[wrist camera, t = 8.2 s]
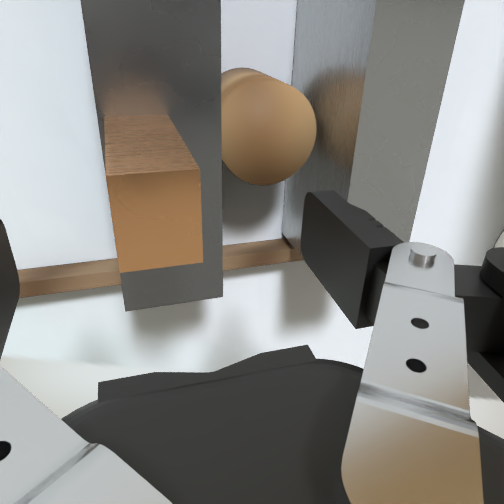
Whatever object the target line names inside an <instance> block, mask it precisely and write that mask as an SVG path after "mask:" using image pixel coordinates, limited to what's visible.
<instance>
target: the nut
mask: <svg viewBox="0 0 504 504" xmlns="http://www.w3.org/2000/svg"><path fill="white" fill-rule="evenodd" d="M221 124H222V161H223V162H224V163H225V165H226V166H227V167H228V169H229V170H230V171H231V172H232V173H233V174H234V175H235V176H237V177H238V178H240V179H241V180H243V181H245V182H248V183H251V184H255V185H270V184H275V183H279V182H281V181H283V180H285V179H287V178H289V177H291V176H292V175H293V174H295V173H296V172H297V171H298V170H299V169H300V168H301V167H302V166H303V165H304V163H305V162H306V160H307V159H308V157H309V155H310V154H311V151H312V149H313V146H314V143H315V138H316V119H315V114H314V111H313V109H312V107H311V105H310V103H309V101H308V100H307V98H306V97H305V96H304V95H303V94H302V93H301V92H300V91H299V90H297V89H296V88H294V87H292V86H291V85H288V84H286V83H284V82H281V81H279V80H277V79H275V78H272V77H270V76H268V75H266V74H263V73H261V72H259V71H256V70H254V69H249V68H235V69H231V70H228V71H226V72H224V73H222V74H221Z"/></svg>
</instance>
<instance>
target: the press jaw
mask: <svg viewBox="0 0 504 504" xmlns="http://www.w3.org/2000/svg"><path fill="white" fill-rule="evenodd" d="M81 6H82V13H83V20H84V27H85V34H86V41H87V48H88V55H89V62H90V69H91V76H92V83H93V90H94V96H95V103H96V110H97V117H98V124H99V131H100V138H101V145H102V152H103V159H104V166H105V173H106V180H107V187H108V194H109V201H110V208H111V215H112V222H113V229H114V236H115V243H116V250H117V257H118V264H119V270H120V277H121V284H122V291H123V298H124V305H125V311H132V310H138V309H145V308H152V307H158V306H165V305H172V304H178V303H185V302H192V301H198V300H205V299H212V298H218V297H223V251H222V124H221V0H81Z"/></svg>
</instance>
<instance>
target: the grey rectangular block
mask: <svg viewBox="0 0 504 504" xmlns="http://www.w3.org/2000/svg"><path fill="white" fill-rule="evenodd" d="M464 1H465V0H298V1H297V16H296V31H295V46H294V61H293V76H292V87H294V88H296V89H297V90H299V91H300V92H301V93H302V94H303V95H304V96H305V97H306V98H307V100H308V101H309V103H310V105H311V107H312V109H313V111H314V114H315V119H316V138H315V143H314V146H313V149H312V151H311V154H310V155H309V157H308V159H307V160H306V162H305V163H304V165H303V166H302V167H301V168H300V169H299V170H298V171H297V172H296V173H295V174H293V175H292V176H291V177H289V178H287V179H286V180H285V195H284V210H283V225H282V233H283V234H284V236H285V237H286V238H287V239H288V241H289V242H290V243H291V244H292V246H293V247H294V248H295V250H296V251H297V252H298V253H299V255H300V256H301V257H302V258H303V256H302V252H301V230H302V219H303V207H304V199H305V196H306V194H307V193H308V192H313V191H325V190H334V191H335V192H337V193H338V194H339V195H340V196H341V197H342V198H344V199H345V200H346V201H347V202H348V203H349V204H352V205H354V206H356V207H359V208H361V209H363V210H365V211H367V212H368V213H369V214H370V215H372V216H373V217H374V218H375V219H376V220H378V221H379V222H380V223H381V224H383V225H384V227H386V228H387V229H389V230H390V231H391V232H392V233H394V234H395V235H396V236H397V237H398V238H400V239H401V240H402V241H403V242H404V243H407V242H409V240H410V236H411V231H412V227H413V223H414V218H415V214H416V210H417V205H418V201H419V197H420V192H421V188H422V184H423V179H424V175H425V171H426V166H427V162H428V157H429V153H430V149H431V144H432V140H433V136H434V131H435V127H436V123H437V118H438V114H439V110H440V105H441V101H442V97H443V92H444V88H445V84H446V79H447V75H448V70H449V66H450V62H451V57H452V53H453V49H454V44H455V40H456V36H457V31H458V27H459V23H460V18H461V14H462V10H463V5H464ZM303 260H304V258H303ZM304 261H305V260H304ZM306 264H307V263H306Z"/></svg>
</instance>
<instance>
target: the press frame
mask: <svg viewBox="0 0 504 504" xmlns="http://www.w3.org/2000/svg"><path fill="white" fill-rule="evenodd" d="M222 251H223V271H224V270H232V269H239V268H247V267H254V266H262V265H269V264H276V263H284V262H291V261H299V260H303V258H302V257H301V256H300V255H299V253H298V252H297V251H296V250H295V248H294V247H293V246H292V244H291V243H290V242H289V241H288V239H287V238H284V239H275V240H267V241H258V242H250V243H242V244H233V245H225V246H222ZM17 271H18V275H19V282H20V295H19V298H23V297H30V296H38V295H45V294H53V293H60V292H67V291H75V290H82V289H90V288H97V287H105V286H112V285H120V284H121V277H120V270H119V264H118V258H115V259H107V260H98V261H90V262H81V263H73V264H64V265H56V266H48V267H39V268H31V269H22V270H17Z"/></svg>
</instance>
